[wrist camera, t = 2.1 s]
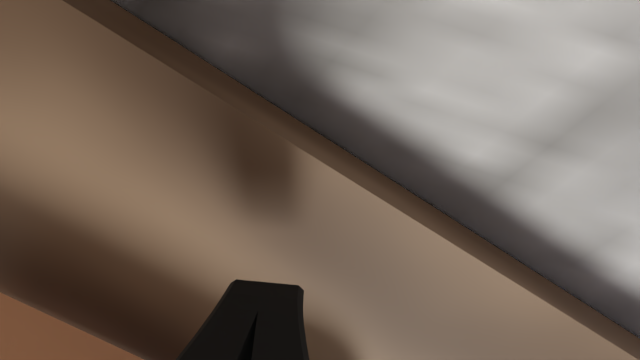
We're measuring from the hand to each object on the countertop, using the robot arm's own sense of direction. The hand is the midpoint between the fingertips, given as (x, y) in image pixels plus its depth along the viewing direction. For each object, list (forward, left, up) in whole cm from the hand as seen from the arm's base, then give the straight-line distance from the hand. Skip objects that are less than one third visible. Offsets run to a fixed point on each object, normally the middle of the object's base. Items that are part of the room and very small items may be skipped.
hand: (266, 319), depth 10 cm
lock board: (+5, +3, -4) cm, 7 cm away
